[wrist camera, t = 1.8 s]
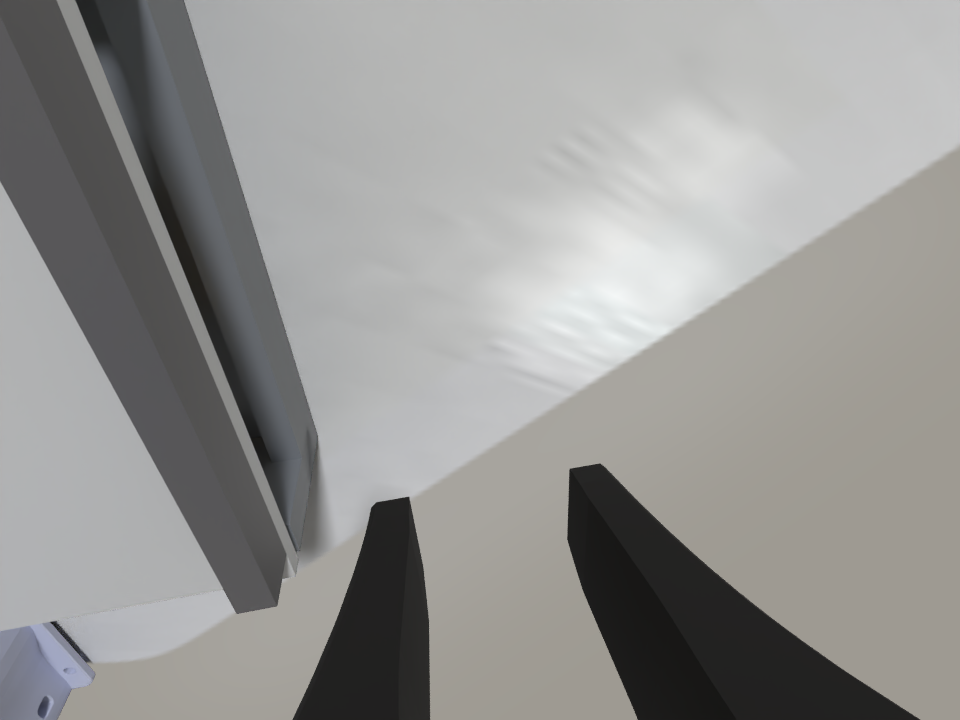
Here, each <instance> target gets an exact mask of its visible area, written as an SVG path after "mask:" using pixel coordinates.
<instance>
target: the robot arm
mask: <svg viewBox="0 0 960 720" xmlns="http://www.w3.org/2000/svg"><path fill="white" fill-rule="evenodd" d="M568 506H569V507H568V537H567V540H568V543H569V546H570V550H571V553H572V556H573V560H574V563H575V567H576V570H577V573H578V576H579V579H580V583H581V586H582V589H583V591H584V594H585V596H586V599H587V601H588V604H589V606H590V608H591V611H592V613H593V615H594V618H595V620H596V622H597V624H598V627H599V630H600V632H601V634H602V637H603V639H604V641H605V643H606V646H607V648H608V650H609V653H610V655H611V657H612V660H613V662H614V664H615V667H616V669H617V671H618V674H619V676H620V678H621V680H622V683H623V685H624V688H625V690H626V692H627V695H628V697H629V699H630V701H631V704H632V706H633V709H634V711H635V714H636V716H637V719H638V720H920V719H918V718H917V717H915V716H913V715H912V714H910V713H909V712H907V711H906V710H904V709H903V708H901V707H900V706H898V705H897V704H895V703H894V702H892V701H890V700H889V699H887V698H886V697H884V696H883V695H881V694H880V693H878V692H876V691H875V690H873V689H872V688H870V687H869V686H867V685H866V684H864V683H863V682H861V681H859V680H858V679H856V678H855V677H853V676H852V675H850V674H849V673H847V672H846V671H844V670H843V669H841V668H840V667H838V666H837V665H835V664H834V663H833V662H831V661H830V660H828V659H827V658H826V657H824V656H823V655H821V654H820V653H819V652H817V651H816V650H814V649H813V648H811V647H810V646H809V645H807V644H806V643H804V642H803V641H801V640H800V639H799V638H797V637H796V636H795V635H793V634H792V633H791V632H789V631H788V630H787V629H785V628H784V627H783V626H781V625H780V624H779V623H777V622H776V621H775V620H773V619H772V618H771V617H769V616H768V615H767V614H766V613H764V612H763V611H762V610H760V609H759V608H758V607H757V606H755V605H754V604H753V603H752V602H750V601H749V600H748V599H747V598H745V597H744V596H743V595H742V594H740V593H739V592H738V591H737V590H736V589H734V588H733V587H732V586H731V585H729V584H728V583H727V582H726V581H725V580H724V579H722V578H721V577H720V576H719V575H718V574H716V573H715V572H714V571H713V570H712V569H710V568H709V567H708V566H707V565H706V564H705V563H704V562H703V561H701V560H700V559H699V558H698V557H697V556H696V555H694V554H693V553H692V552H691V551H690V550H689V549H688V548H687V547H686V546H685V545H684V544H682V543H681V542H680V541H679V540H678V539H677V538H676V537H675V536H674V535H673V534H671V533H670V532H669V531H668V530H667V529H666V528H665V527H664V526H663V525H662V524H661V523H660V522H659V521H658V520H657V519H656V518H655V517H654V516H653V515H652V514H651V513H650V512H649V511H648V510H646V509H645V508H644V507H643V506H642V505H641V504H640V503H639V502H638V501H637V500H636V499H635V498H634V497H633V496H632V495H631V494H630V493H629V492H628V491H627V489H625V487H624V486H623V485H622V484H620V482H619V481H618V480H617V479H616V478H615V477H614V476H613V475H612V474H611V473H610V472H609V471H608V470H607V469H606V468H605V467H604V466H602V465H601V464H595V465H589V466H583V467H578V468H572V469H570V473H569V505H568ZM427 609H428V608H427V599H426V589H425V580H424V571H423V564H422V559H421V554H420V549H419V544H418V539H417V534H416V529H415V524H414V519H413V514H412V509H411V504H410V499H409V497H405V498H399V499H393V500H388V501H382V502H376V503H375V504H374V505H373V507H372V508H371V512H370V517H369V522H368V526H367V530H366V534H365V537H364V541H363V544H362V548H361V551H360V554H359V558H358V561H357V564H356V567H355V570H354V573H353V576H352V579H351V582H350V584H349V587H348V590H347V593H346V596H345V598H344V601H343V604H342V607H341V609H340V612H339V615H338V617H337V620H336V622H335V625H334V627H333V630H332V632H331V635H330V637H329V640H328V642H327V644H326V646H325V649H324V651H323V654H322V656H321V658H320V661H319V663H318V665H317V668H316V670H315V673H314V675H313V677H312V679H311V682H310V684H309V686H308V688H307V690H306V692H305V694H304V697H303V699H302V701H301V703H300V705H299V707H298V709H297V711H296V714H295V716H294V718H293V720H430V681H429V680H430V679H429V678H430V675H429V618H428V610H427ZM94 677H95V673H94V671H93V670H92V669H91V668H90V667H89V665H88V664H87V663H86V662H85V661H84V660H83V659H82V658H81V656H80V655H79V654H78V653H77V652H76V651H75V650H74V649H73V647H72V646H71V645H70V644H69V643H68V642H67V641H66V640H65V638H64V637H63V636H62V635H61V634H60V633H59V632H58V631H57V629H56V628H55V627H54V626H53V625H52V624H51V623H50V622H47V623H41V624H36V625H30V626H25V627H20V628H14V629H9V630H3V631H0V720H57V719H58V717H59V715H60V713H61V711H62V709H63V706H64V704H65V702H66V700H67V698H68V696H69V694H70V692H71V690H72V689H75V688H80V687H85V686H88V685H90V684H91V683H92V681H93V679H94Z"/></svg>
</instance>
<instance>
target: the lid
mask: <svg viewBox="0 0 960 720" xmlns="http://www.w3.org/2000/svg"><path fill="white" fill-rule="evenodd" d="M297 565H298V557H297V554H296V551H295V549H294V546H293V544H292V541H291V539H290V536H289V534H288V531H287V529H286V526H285V524H284V521H283V519H282V516H281V514H280V511H279V509H278V506H277V504H276V501H275V499H274V496H273V494H272V491H271V489H270V486H269V484H268V481H267V479H266V476H265V474H264V471H263V469H262V466H261V464H260V461H259V459H258V456H257V454H256V451H255V449H254V446H253V444H252V441H251V439H250V436H249V434H248V431H247V429H246V426H245V424H244V421H243V419H242V416H241V414H240V411H239V409H238V406H237V404H236V401H235V399H234V396H233V394H232V391H231V389H230V386H229V384H228V381H227V379H226V376H225V374H224V371H223V369H222V366H221V364H220V361H219V359H218V356H217V354H216V351H215V349H214V346H213V344H212V341H211V339H210V336H209V334H208V331H207V329H206V326H205V324H204V321H203V319H202V316H201V314H200V311H199V309H198V306H197V304H196V301H195V299H194V296H193V294H192V291H191V289H190V286H189V284H188V281H187V279H186V276H185V274H184V271H183V269H182V266H181V264H180V261H179V259H178V256H177V254H176V251H175V249H174V246H173V244H172V241H171V239H170V236H169V234H168V231H167V229H166V226H165V224H164V221H163V219H162V216H161V214H160V211H159V209H158V206H157V204H156V201H155V199H154V196H153V194H152V191H151V189H150V186H149V184H148V181H147V179H146V176H145V174H144V171H143V169H142V166H141V164H140V161H139V159H138V156H137V154H136V151H135V149H134V146H133V144H132V141H131V139H130V136H129V134H128V131H127V129H126V126H125V124H124V121H123V119H122V116H121V114H120V111H119V109H118V106H117V104H116V101H115V99H114V96H113V94H112V91H111V89H110V86H109V83H108V81H107V78H106V76H105V73H104V71H103V68H102V66H101V63H100V61H99V58H98V56H97V53H96V51H95V48H94V46H93V43H92V41H91V38H90V36H89V33H88V31H87V28H86V26H85V23H84V21H83V18H82V16H81V13H80V11H79V8H78V6H77V3H76V1H75V0H0V631H3V630H9V629H14V628H20V627H25V626H30V625H36V624H41V623H47V622H52V621H57V620H63V619H68V618H74V617H79V616H84V615H90V614H95V613H101V612H106V611H111V610H117V609H122V608H127V607H133V606H138V605H144V604H149V603H154V602H160V601H165V600H171V599H176V598H181V597H187V596H192V595H198V594H203V593H208V592H214V591H219V590H224V591H225V593H226V595H227V597H228V599H229V601H230V602H231V604H232V606H233V608H234V610H235V612H236V613H237V614H239V613H244V612H249V611H255V610H260V609H265V608H270V607H276V606H277V604H278V599H279V594H280V588H281V582H282V579H284V578H289V577H295V576H296V572H297Z"/></svg>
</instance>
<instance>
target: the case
mask: <svg viewBox="0 0 960 720" xmlns="http://www.w3.org/2000/svg"><path fill="white" fill-rule="evenodd" d="M75 1H76V3H77V6H78V8H79V11H80V13H81V16H82V18H83V21H84V23H85V26H86V28H87V31H88V33H89V36H90V38H91V41H92V43H93V46H94V48H95V51H96V53H97V56H98V58H99V61H100V63H101V66H102V68H103V71H104V73H105V76H106V78H107V81H108V83H109V86H110V89H111V91H112V94H113V96H114V99H115V101H116V104H117V106H118V109H119V111H120V114H121V116H122V119H123V121H124V124H125V126H126V129H127V131H128V134H129V136H130V139H131V141H132V144H133V146H134V149H135V151H136V154H137V156H138V159H139V161H140V164H141V166H142V169H143V171H144V174H145V176H146V179H147V181H148V184H149V186H150V189H151V191H152V194H153V196H154V199H155V201H156V204H157V206H158V209H159V211H160V214H161V216H162V219H163V221H164V224H165V226H166V229H167V231H168V234H169V236H170V239H171V241H172V244H173V246H174V249H175V251H176V254H177V256H178V259H179V261H180V264H181V266H182V269H183V271H184V274H185V276H186V279H187V281H188V284H189V286H190V289H191V291H192V294H193V296H194V299H195V301H196V304H197V306H198V309H199V311H200V314H201V316H202V319H203V321H204V324H205V326H206V329H207V331H208V334H209V336H210V339H211V341H212V344H213V346H214V349H215V351H216V354H217V356H218V359H219V361H220V364H221V366H222V369H223V371H224V374H225V376H226V379H227V381H228V384H229V386H230V389H231V391H232V394H233V396H234V399H235V401H236V404H237V406H238V409H239V411H240V414H241V416H242V419H243V421H244V424H245V426H246V429H247V431H248V434H249V436H250V439H251V441H252V444H253V446H254V449H255V451H256V454H257V456H258V459H259V461H260V464H261V466H262V469H263V471H264V474H265V476H266V479H267V481H268V484H269V486H270V489H271V491H272V494H273V496H274V499H275V501H276V504H277V506H278V509H279V511H280V514H281V516H282V519H283V521H284V524H285V526H286V529H287V531H288V534H289V536H290V539H291V541H292V544H293V546H294V549H295V551H300V546H301V540H302V534H303V527H304V521H305V514H306V508H307V502H308V495H309V489H310V482H311V476H312V470H313V463H314V457H315V451H316V444H317V438H318V436H317V432H316V429H315V426H314V423H313V419H312V416H311V413H310V410H309V406H308V403H307V400H306V397H305V393H304V390H303V387H302V384H301V380H300V377H299V374H298V371H297V367H296V364H295V361H294V358H293V354H292V351H291V348H290V345H289V341H288V338H287V335H286V332H285V328H284V325H283V322H282V319H281V315H280V312H279V309H278V306H277V302H276V299H275V296H274V293H273V289H272V286H271V283H270V280H269V276H268V273H267V270H266V267H265V263H264V260H263V257H262V254H261V250H260V247H259V244H258V241H257V237H256V234H255V231H254V228H253V224H252V221H251V218H250V215H249V211H248V208H247V205H246V202H245V199H244V195H243V192H242V189H241V186H240V182H239V179H238V176H237V173H236V169H235V166H234V163H233V160H232V156H231V153H230V150H229V147H228V143H227V140H226V137H225V134H224V130H223V127H222V124H221V121H220V117H219V114H218V111H217V108H216V104H215V101H214V98H213V95H212V91H211V88H210V85H209V82H208V78H207V75H206V72H205V69H204V65H203V62H202V59H201V56H200V52H199V49H198V46H197V43H196V39H195V36H194V33H193V30H192V26H191V23H190V20H189V17H188V13H187V10H186V7H185V4H184V0H75Z"/></svg>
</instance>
